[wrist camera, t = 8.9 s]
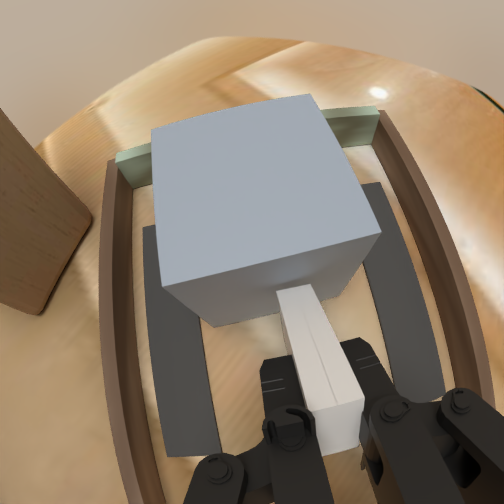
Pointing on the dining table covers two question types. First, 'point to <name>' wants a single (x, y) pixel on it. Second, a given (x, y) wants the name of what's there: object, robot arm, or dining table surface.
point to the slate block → (256, 208)
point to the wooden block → (33, 223)
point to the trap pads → (192, 352)
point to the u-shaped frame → (121, 286)
